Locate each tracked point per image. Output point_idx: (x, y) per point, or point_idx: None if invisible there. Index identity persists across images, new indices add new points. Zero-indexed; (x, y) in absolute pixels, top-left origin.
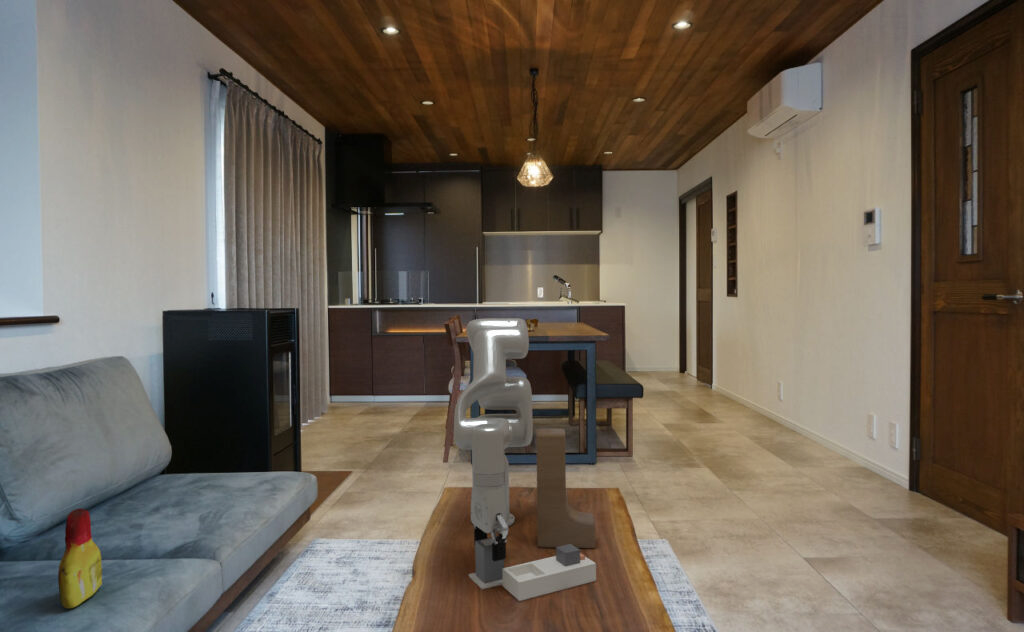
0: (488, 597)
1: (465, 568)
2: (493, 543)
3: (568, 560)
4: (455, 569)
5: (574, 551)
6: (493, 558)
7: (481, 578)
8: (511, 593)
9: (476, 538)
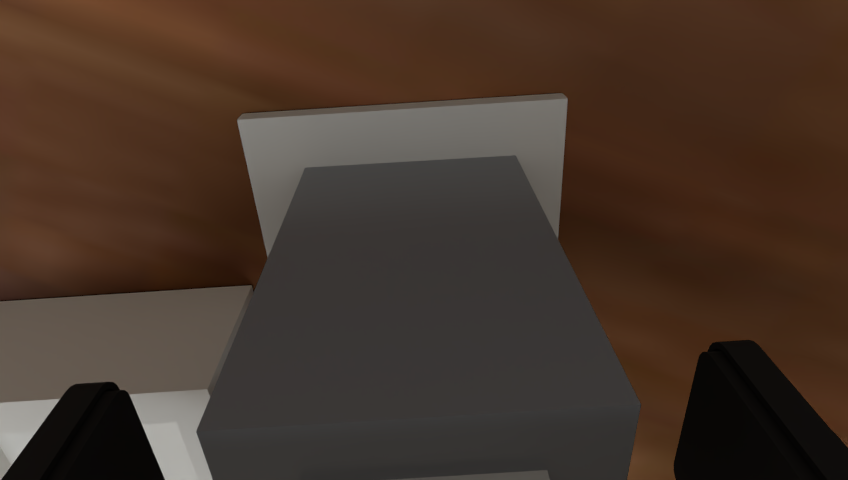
0: (68, 111)
1: (740, 125)
2: None
3: None
4: (792, 22)
5: None
6: (60, 412)
7: (374, 171)
8: (90, 298)
9: (765, 447)
